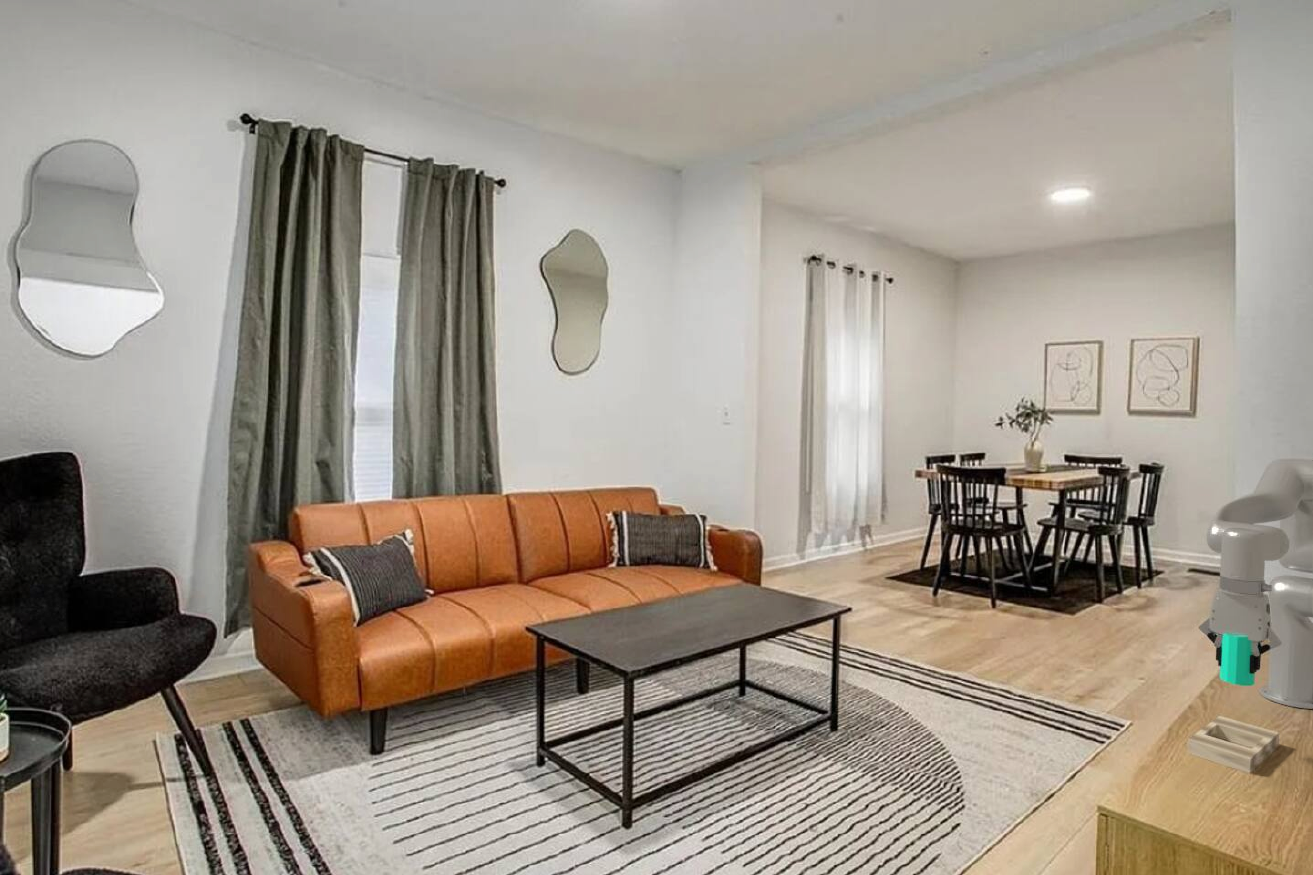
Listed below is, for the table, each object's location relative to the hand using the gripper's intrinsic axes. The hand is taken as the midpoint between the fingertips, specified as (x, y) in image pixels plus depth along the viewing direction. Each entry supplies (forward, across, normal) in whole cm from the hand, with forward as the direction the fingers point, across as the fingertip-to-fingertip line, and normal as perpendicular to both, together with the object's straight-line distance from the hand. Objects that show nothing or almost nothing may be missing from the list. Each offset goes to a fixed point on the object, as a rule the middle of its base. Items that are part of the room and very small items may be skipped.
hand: (1237, 667), depth 164 cm
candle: (+3, 0, 0) cm, 3 cm away
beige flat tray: (+18, 0, 0) cm, 18 cm away
